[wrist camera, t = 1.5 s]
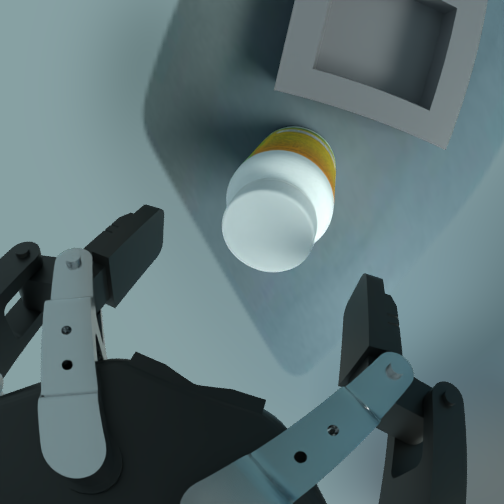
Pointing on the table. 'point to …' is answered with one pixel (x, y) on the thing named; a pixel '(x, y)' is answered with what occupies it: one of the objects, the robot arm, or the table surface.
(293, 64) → the socket mount
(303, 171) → the supplement bottle
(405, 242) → the table surface
